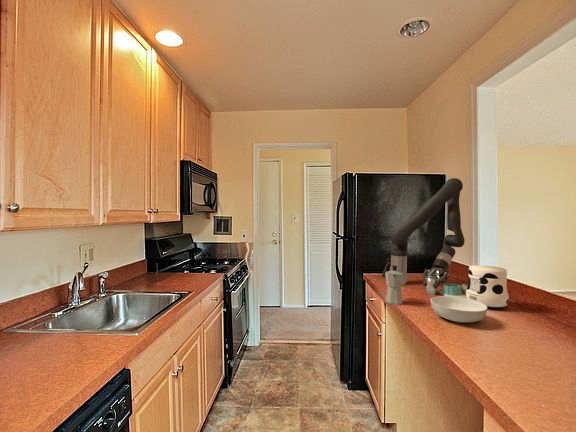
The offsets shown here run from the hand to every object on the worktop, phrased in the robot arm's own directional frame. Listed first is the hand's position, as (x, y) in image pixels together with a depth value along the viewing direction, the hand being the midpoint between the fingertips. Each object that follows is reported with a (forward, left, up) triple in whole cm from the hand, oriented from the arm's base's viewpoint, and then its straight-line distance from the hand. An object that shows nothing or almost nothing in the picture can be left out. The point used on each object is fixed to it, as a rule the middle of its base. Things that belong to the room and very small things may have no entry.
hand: (429, 286), depth 171 cm
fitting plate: (+15, -2, -4) cm, 16 cm away
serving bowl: (-4, -39, -4) cm, 39 cm away
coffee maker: (-23, -15, -4) cm, 28 cm away
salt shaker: (+2, +1, -4) cm, 5 cm away
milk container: (+19, -19, -4) cm, 27 cm away
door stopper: (-8, +45, -4) cm, 46 cm away
